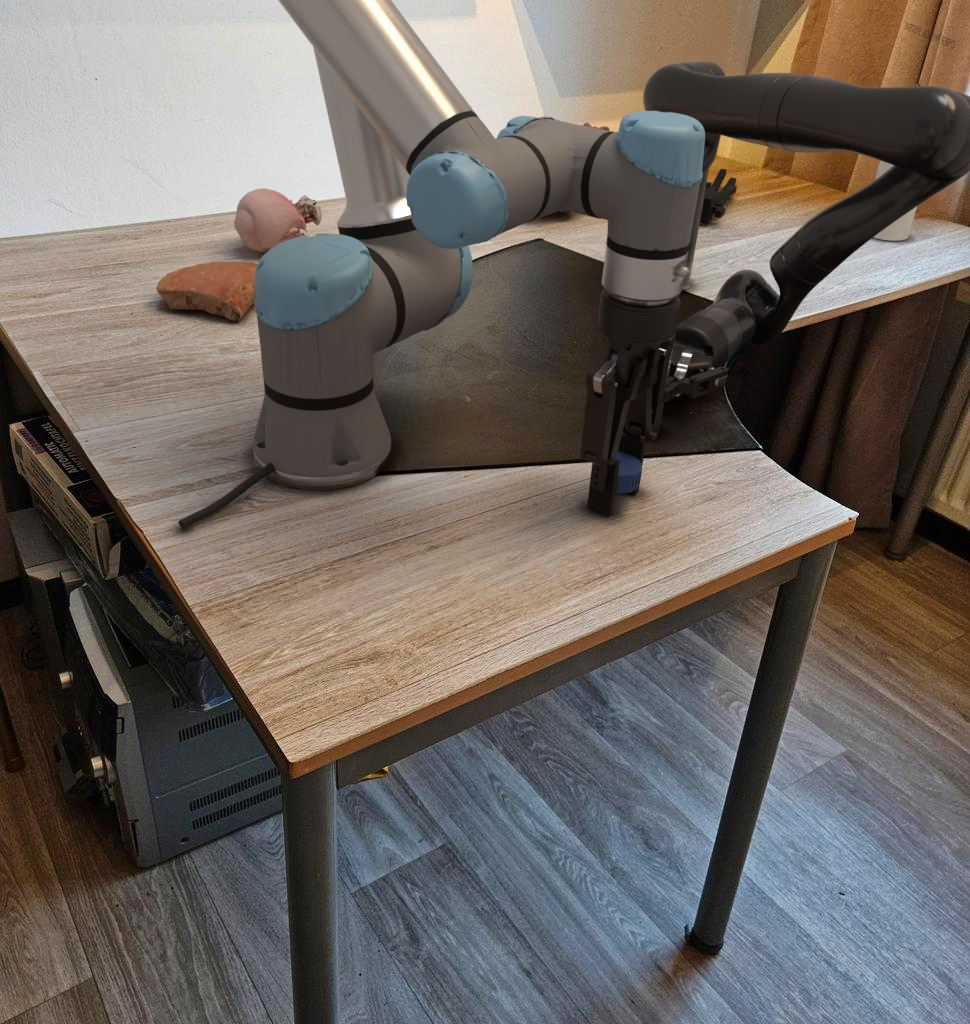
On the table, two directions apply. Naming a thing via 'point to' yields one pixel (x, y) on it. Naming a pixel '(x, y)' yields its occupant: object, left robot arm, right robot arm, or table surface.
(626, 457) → the lid
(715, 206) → the toy
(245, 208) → the toy
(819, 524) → the table surface
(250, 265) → the ceramic shard
